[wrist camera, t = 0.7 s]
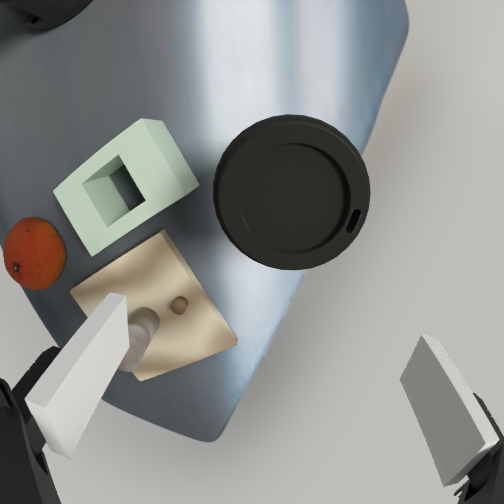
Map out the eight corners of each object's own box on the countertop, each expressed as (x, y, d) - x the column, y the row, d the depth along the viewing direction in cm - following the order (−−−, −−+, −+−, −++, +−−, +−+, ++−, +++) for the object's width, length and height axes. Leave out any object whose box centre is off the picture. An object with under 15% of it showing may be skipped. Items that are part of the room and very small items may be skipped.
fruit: (84, 235, 35) (47, 259, 27) (63, 286, 38) (31, 315, 30) (37, 197, 33) (-4, 213, 26) (21, 249, 36) (-15, 271, 29)
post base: (74, 286, 37) (35, 322, 28) (164, 228, 34) (131, 259, 25) (143, 374, 42) (121, 421, 33) (237, 338, 39) (229, 391, 30)
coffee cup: (251, 111, 30) (238, 88, 15) (343, 145, 30) (402, 152, 16) (221, 201, 33) (188, 251, 19) (310, 231, 34) (339, 299, 19)
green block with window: (116, 238, 35) (91, 256, 29) (82, 181, 33) (52, 190, 27) (200, 185, 32) (186, 195, 27) (162, 121, 30) (141, 118, 24)
